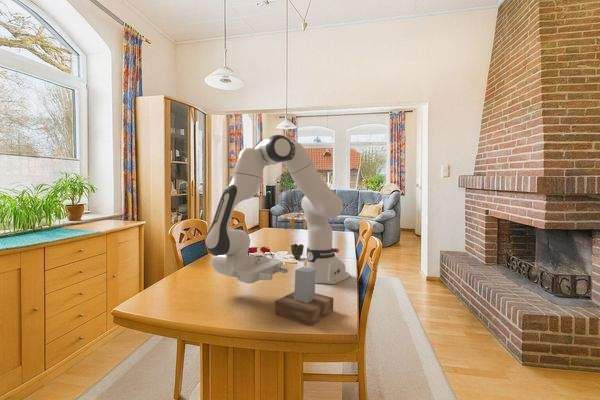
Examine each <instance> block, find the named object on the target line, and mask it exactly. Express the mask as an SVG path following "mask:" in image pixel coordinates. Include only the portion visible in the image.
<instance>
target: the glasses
mask: <svg viewBox="0 0 600 400" xmlns="http://www.w3.org/2000/svg"><path fill="white" fill-rule="evenodd" d="M259 250H260V253H262V254H264V253H265V252H269V253H270V255H271V258H273V259H274V257H273V253H272V252H271V249H270V248H269V247H268V246H267V247H266V246H261V247H260V248H259ZM257 252H258V247H257V246H251V247H250V246H249V250H248V254H247V256H250V255H249V253H253V254H255V253H257Z"/></svg>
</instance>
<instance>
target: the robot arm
mask: <svg viewBox="0 0 600 400" xmlns="http://www.w3.org/2000/svg"><path fill="white" fill-rule="evenodd" d="M279 163H282V164H283V165H284V166H285V167H286V169H287V170H288V172H289V174H290V177H291V179H292V180H293V182H294V183H295V186H296V187H297V189H298V190H299V191H300V192H301V193H302V194H303V195H304V196H303V197H302V199H301V202H300V206H301V209H302V211H303V213H304V215H305V217H304V218H305V221H306V226H307V247H306V257H307V258H306V259H307V265H306V266H305V267H307V268H312V269H316V276H315V284H329V285H335V284H338V283H340V282H342V281H344V280H347V279H349V278H351V274H350V272H347V270H346V264H345V262H343V261H342V260H341V259H340V258H339V257H337V256H336V254H338V253H339V252H340V249H339V248H338V247H337V248H336V247H334V248H333V238H334V237H333V233H334V232H333V229H332V226H331V225H330V221H329V219H334V218H337V217H338V216H340V215H341V214H342V211H343V209H344V204H343V200H342V199H341V198H340V197H339V196H338V195H337V194H335V192H333V191H332V189H331V188H330V187H329V186H328V185H327V183H326V182H325V181H324V180H323V178H322V177H321V175H320V173H319V171H318V169H317V167H316V166H315V163H314V161H313V160H312V158H311V156H310V155H309V153H308V152H307V150H306V149H305V147H304V146H303V145H302V144H301V143H300V142H297V141H296V142H295V141H293V142H292V141H291V140H290V138H288V137H287V136H285V135H282V134H274V135H272V136H268V137H266V138H264V139H263V140H260V141H258V143H256V144H255V145H254V147H246V148H243V149H242V150H240V152H239V154H238V156H237V159H236V162H235V165H234V170H233V174H232V178H231V181H230V183H229V184H228V185H227V186H226V187H225V188H224V190H223V192H222V193H221V196H220V198H219V202H218V205H217V207H216V210H215V213H214V214H215V215H214V216H213V219H212V223H211V226H210V228H209V229H208V231H207V233H206V235H205V237H204V239H205V240H204V245H205V247H206V250H207V251H208V253H209V254H210V255H212V258H211V266H212V268H213V269H214V271H215V272H217V273H218V274H221V275H223V276H227V277H232V278H236V280H237V281H238V282H242V283H244V284H254V283H256V282H259V281H271V280H273V276H274V275H276V274H277V273H281V274H288V271H289V268H288V267H284V262H283V261H282V260H279V259H277V258H274V257H273V258H272V257H266V255H264V254H263V255H249V256H248V250H249V248H250V245H251V239H250V236H249V234H248V232H247V231H246V230H243V229H236V228H235V229H233V228H230V227H229V226H230V223H231V221H232V220H231V219H232V217H233V213H234V210H235V208H236V206H238V204H239V203H241V202H243V201H245V200H249V199H251V198H253V197H255V196H256V195H257V194H258V192H259V190H260V187H261V183H262V178H263V171H264V168H265V167H266V166H272V165H277V164H279ZM335 253H336V254H335Z"/></svg>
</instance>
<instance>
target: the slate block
mask: <svg viewBox="0 0 600 400" xmlns="http://www.w3.org/2000/svg"><path fill="white" fill-rule="evenodd" d="M315 276H316V269H312V268H307V267H306V266H301V267H299V268H297V269H295V270H294V292H295V293H294V300H297V301H301V302H305V303H309V302H310V301H312V300H313V299H315V293H316V283H315Z"/></svg>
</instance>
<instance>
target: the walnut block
mask: <svg viewBox="0 0 600 400" xmlns="http://www.w3.org/2000/svg"><path fill="white" fill-rule="evenodd" d="M294 293H295V291H293V292H291V293H289V294H287V295H285V296H283V297H281V298H278V299H277V300H275V301H274V314H275V315H276V316H278V317H281V318H284V319H288V320H290V321H293V322H297V323H300V324H303V325H305V326H309V327H312V326H314V325H315V324H317V323H318V322H319V321H320V320H322V319H324V318H325V317H327V316H328V315H330V314H331V313H332V312H334V297H332V296H328V295H324V294H320V293H316V292H315V299H313V300H312V301H310V302H309V303H305V302H301V301H297V300H294Z"/></svg>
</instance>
